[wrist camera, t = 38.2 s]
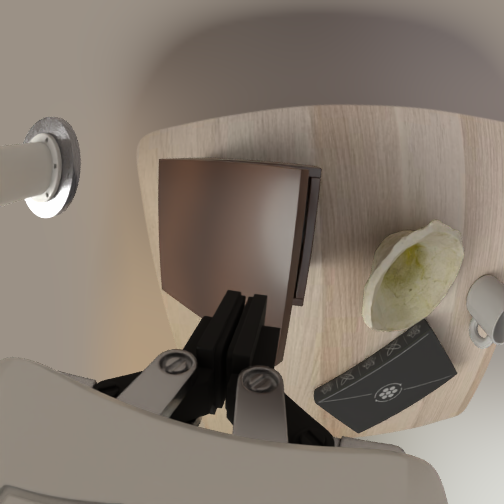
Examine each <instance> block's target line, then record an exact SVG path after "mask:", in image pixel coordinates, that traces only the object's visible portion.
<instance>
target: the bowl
mask: <svg viewBox="0 0 504 504" xmlns="http://www.w3.org/2000/svg"><path fill="white" fill-rule="evenodd" d="M463 257H464V247H463V244H462V238H461V233H460V232H459V231H457V230H455V229H454V230H452V229H451V227H450V226H447V225H444V224H443V223H442V222H441V221H439V220H436V219H434V220H432V221H431V222H430V223H429V225H428V226H426V227H423V228H421V229H419V230H416V231H411V230H403V231H401V232H397V233H394V234H391V235H389V236H388V237H386V238H385V239H384V240H383V242H382V243H381V244H380V245H379V247H378V248H377V250H376V252H375V255H374V260H373V264H372V270H371V275H370V277H369V279H368V281H367V283H366V285H365V288H364V295H363V308H362V317H363V319H364V322H365V324H366V325H367V326H368V327H370V328H371V329H372V330H374V331H382V332H385V331H386V332H392V331H401V330H406V329H408V328H410V327H411V326H413V325H414V324H416V323H418V322H419V321H420V320H422V319H424V318H425V317H427V316H428V315H429V314H431V313H432V312H433V311H434V309H435V308H436V307H437V305H438V304H439V303H440V301H441V300H442V299H443V297H444V296H445V295H446V294H447V292H448V290H449V288H450V286H451V285H452V283H453V282H454V280H455V279H456V277H457V275H458V273H459V270H460V266H461V263H462V261H463Z"/></svg>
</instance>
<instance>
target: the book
mask: <svg viewBox="0 0 504 504" xmlns="http://www.w3.org/2000/svg"><path fill="white" fill-rule="evenodd" d="M456 374H457V372H456V370H455V368H454V366H453V364H452V363H451V361H450V359H449V357H448V356H447V354H446V352H445V350H444V349H443V347H442V345H441V344H440V342H439V340H438V338H437V337H436V335H435V334H434V332H433V330H432V329H431V327H430V326H429V324H428V322H427V321H426V319H425V318H424V319H422V320H420V321H419V322H418V323H416V324H415V325H414V326H412V327H411V328H410V329H408V330H407V331H406V332H404V333H403V334H402V335H400V336H399V337H398V338H396V339H395V340H393V341H392V342H391V343H389V344H388V345H386V346H385V347H384V348H382V349H381V350H379V351H378V352H376V353H375V354H373V355H372V356H370V357H369V358H367V359H366V360H364V361H363V362H361V363H359V364H358V365H356V366H355V367H353V368H351V369H350V370H348V371H346V372H345V373H343V374H341V375H340V376H338V377H336V378H335V379H333V380H331V381H329V382H328V383H326V384H324V385H322V386H320V387H319V388H317V389H315V391H314V400H315V403H316V404H317V405H319V406H320V407H321V408H323V409H324V410H326V411H327V412H328V413H330V414H331V415H332V416H334V417H335V418H337V419H338V420H339V421H341V422H342V423H344V424H345V425H347V426H348V427H349V428H351V429H352V430H354V431H355V432H357V433H360V432H363V431H365V430H367V429H369V428H371V427H373V426H375V425H377V424H379V423H381V422H383V421H384V420H386V419H388V418H390V417H392V416H394V415H395V414H397V413H399V412H401V411H402V410H404V409H406V408H408V407H409V406H411V405H413V404H414V403H416V402H417V401H419V400H421V399H422V398H424V397H425V396H427V395H428V394H430V393H431V392H433V391H434V390H436V389H437V388H439V387H440V386H441V385H443V384H444V383H446V382H447V381H448V380H450V379H451V378H452V377H454V376H455V375H456Z"/></svg>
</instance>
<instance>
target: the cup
mask: <svg viewBox="0 0 504 504" xmlns="http://www.w3.org/2000/svg"><path fill="white" fill-rule="evenodd" d="M467 310H468V311H469V313H470V314H471V315H472V319H471V321H470V324H469V335H470V338H471V340H472V341H473V343H474V344H475V345H476V346H477V347H478V348H481V349H484V348H487V347H489V346H490V345H491V344H492V343H495V344H496V345H500V344H504V284H503V283H501V282H500V281H499V280H498V279H497V278H495V277H494V276H492V275H485V276H482V277H480V278H479V279H478V280H476V282H475V283H474V284H473V285H472V287H471V288H470V290H469V293H468V296H467ZM478 324H479V325H480V326H481V328H482V329H483V330H484V331H485V332H486V333H487V336H486V338H482V337H481V336H480V335H479V333H478V330H477V327H478Z"/></svg>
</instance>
